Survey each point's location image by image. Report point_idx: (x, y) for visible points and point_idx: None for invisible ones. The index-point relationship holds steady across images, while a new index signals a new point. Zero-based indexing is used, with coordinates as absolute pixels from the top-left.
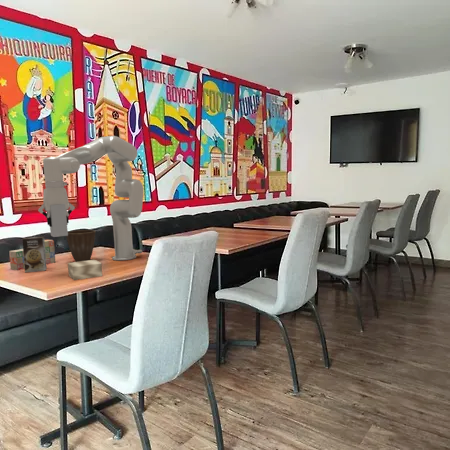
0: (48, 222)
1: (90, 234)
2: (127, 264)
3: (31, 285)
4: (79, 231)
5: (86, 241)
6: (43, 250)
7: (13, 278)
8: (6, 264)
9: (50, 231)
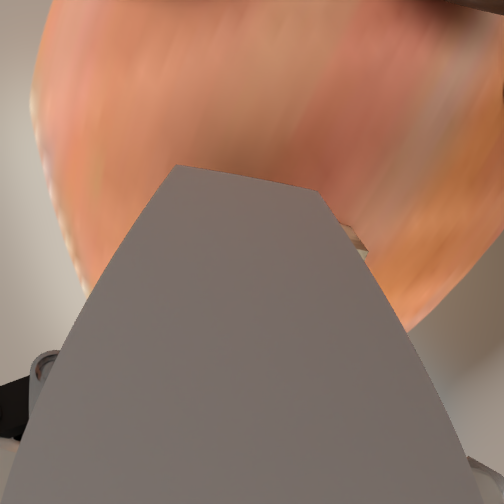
0: None
1: None
2: (476, 208)
3: (88, 255)
4: None
5: (500, 11)
6: None
7: (60, 69)
8: None
9: (166, 178)
